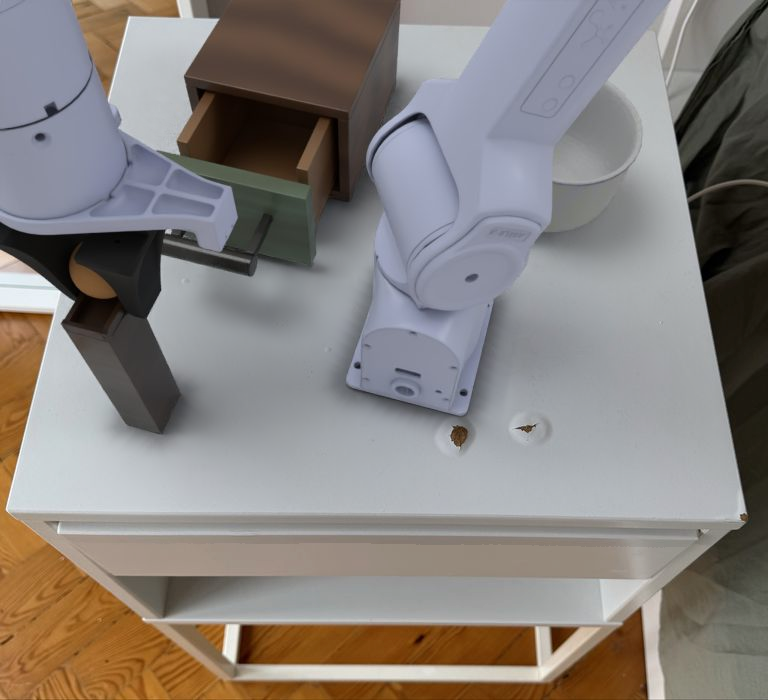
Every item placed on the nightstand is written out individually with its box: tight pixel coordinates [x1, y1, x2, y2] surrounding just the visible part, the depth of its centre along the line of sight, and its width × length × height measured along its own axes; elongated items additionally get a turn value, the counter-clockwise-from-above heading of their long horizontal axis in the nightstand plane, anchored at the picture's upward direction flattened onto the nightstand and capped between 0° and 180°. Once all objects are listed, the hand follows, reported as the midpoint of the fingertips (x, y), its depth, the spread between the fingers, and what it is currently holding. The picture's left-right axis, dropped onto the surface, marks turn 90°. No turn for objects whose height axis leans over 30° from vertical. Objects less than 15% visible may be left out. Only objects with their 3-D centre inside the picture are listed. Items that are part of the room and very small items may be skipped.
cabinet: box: [183, 0, 402, 202], centre depth 55 cm, size 14×12×9 cm
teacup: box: [542, 80, 644, 233], centre depth 52 cm, size 14×11×8 cm
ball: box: [69, 242, 117, 299], centre depth 35 cm, size 3×3×3 cm
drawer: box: [155, 90, 339, 278], centre depth 50 cm, size 17×10×7 cm, turn 165°
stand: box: [60, 291, 182, 435], centre depth 41 cm, size 3×2×12 cm
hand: (118, 294), depth 37 cm, fingers closed on ball, 3 cm apart
